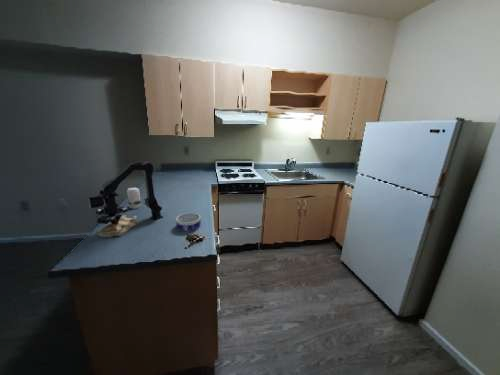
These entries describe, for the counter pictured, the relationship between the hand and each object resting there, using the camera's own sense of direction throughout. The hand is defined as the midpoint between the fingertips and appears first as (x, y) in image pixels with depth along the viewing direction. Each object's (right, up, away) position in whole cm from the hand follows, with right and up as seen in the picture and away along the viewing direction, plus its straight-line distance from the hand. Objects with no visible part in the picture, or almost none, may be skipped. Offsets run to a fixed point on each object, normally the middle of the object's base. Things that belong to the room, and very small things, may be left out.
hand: (115, 227), depth 133 cm
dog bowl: (+44, -1, +8) cm, 44 cm away
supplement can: (-6, +9, +35) cm, 37 cm away
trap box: (+2, -1, +3) cm, 4 cm away
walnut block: (-1, -3, -4) cm, 5 cm away
